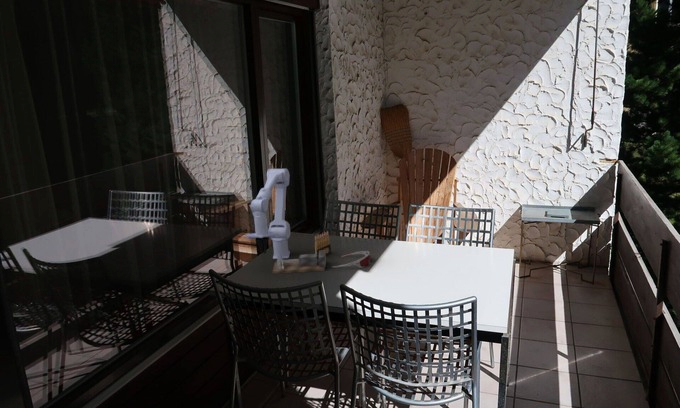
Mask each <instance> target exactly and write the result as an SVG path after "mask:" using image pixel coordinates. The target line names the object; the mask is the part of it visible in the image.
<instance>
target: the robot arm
mask: <svg viewBox="0 0 680 408" xmlns="http://www.w3.org/2000/svg"><path fill="white" fill-rule="evenodd" d="M290 176H291V175H290V172H289V170H288V168H268V169H267V171H266V181H265V184H264V187H262V188H260V190H259V192H258V194H257V196H256V197H255V199H253V200H251V202H250V211H251V212H252V216H253V220H254V228H255V229H254V230H255V232H254V233H253V232H252V233H247V234H246V235H245V238H246V240H252V239H255V242H256V244H257V245H258V248H259V250H260V253H261V254H266V253H267V246H268V242H269V239H271V241H272V246H273V256H272V259H273V260H277V258H278V255H282V259H290V254H291V251H290V250H289V244H288V240H289V239H290V237H291V225H290V223H289V222H288V221H286V220H285V216H286V196H287V187H288V186H289V185H290ZM274 188H275V202H274V203H275V205H274V219H273V221H271V222H270V223H269V226H268V217H267V211H268V208H269V201H270V198H271V197H272V194H273V193H272V192H273V191H272V190H273V189H274ZM268 227H269V228H268Z"/></svg>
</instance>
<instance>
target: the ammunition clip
mask: <svg viewBox="0 0 680 408" xmlns="http://www.w3.org/2000/svg"><path fill="white" fill-rule="evenodd" d="M331 246H332V245H331V242H330V235H329V231H328V230H326V231H324V232H322V233H320V234H317V235H315V236H314V254H317V260H319V250H325V253H326V257H328V256H330V255H332V247H331Z"/></svg>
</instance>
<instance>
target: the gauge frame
mask: <svg viewBox="0 0 680 408" xmlns="http://www.w3.org/2000/svg"><path fill="white" fill-rule="evenodd" d="M326 257H327V256H326V253H325V250H319V260H317V254H315V253H309V254H308V253H307V254H299V257H298V259H299V262H295V263H283V266H284V269H281V270H279V268H278V267H277V261H275V262H274V264H273V268H272V275H274V274H290V273H291V274H292V273H306V272H307V273H308V272H309V273H310V272H323V271H326V268H327V258H326ZM281 268H282V267H281Z"/></svg>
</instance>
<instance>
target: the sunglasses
mask: <svg viewBox="0 0 680 408" xmlns="http://www.w3.org/2000/svg"><path fill="white" fill-rule="evenodd" d="M352 255H364V256H363V257H361V258H359V259H357V260H355V261H351V262H349V263H345V264H344V263H343V264H341V265H334V266H332V269H333V268H334V269H336V268H341V267H350V266H356V267H357V268H360V269H362V268H365V267H367V266H369V263H371V255H370V251H368V250H361V251H355V252H351V253H349V254H348V253H347V254H345V255H341V258H343V257H345V258H346V257H349V256H352Z"/></svg>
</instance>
